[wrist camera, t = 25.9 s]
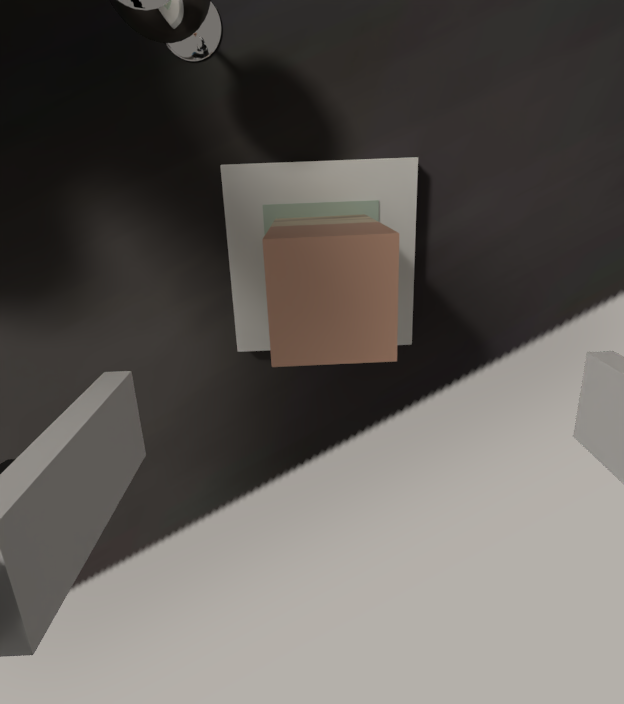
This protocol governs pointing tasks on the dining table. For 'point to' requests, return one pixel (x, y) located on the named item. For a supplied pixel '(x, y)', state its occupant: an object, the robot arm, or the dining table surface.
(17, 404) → the dining table surface
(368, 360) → the terracotta block
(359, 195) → the base plate
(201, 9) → the wineglass
